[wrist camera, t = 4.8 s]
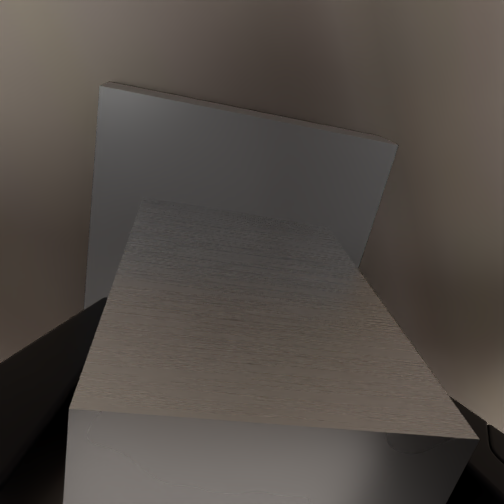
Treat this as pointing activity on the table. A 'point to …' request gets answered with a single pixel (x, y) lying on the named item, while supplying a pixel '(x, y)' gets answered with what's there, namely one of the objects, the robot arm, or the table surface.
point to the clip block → (253, 376)
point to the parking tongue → (225, 170)
